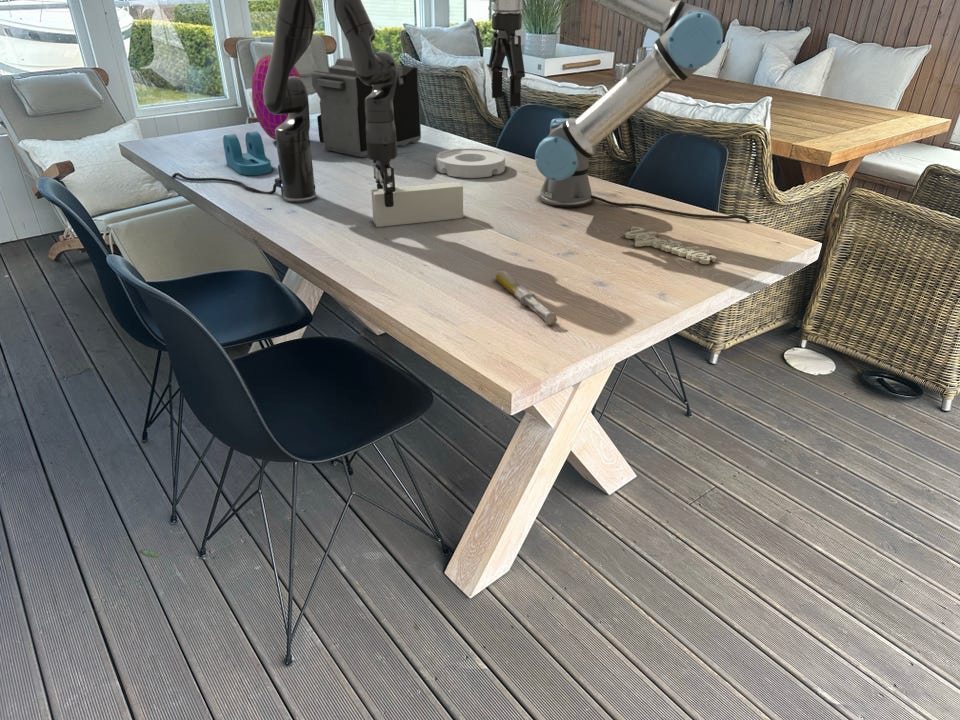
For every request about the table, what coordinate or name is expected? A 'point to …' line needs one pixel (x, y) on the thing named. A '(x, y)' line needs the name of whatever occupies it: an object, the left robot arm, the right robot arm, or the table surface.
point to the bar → (419, 204)
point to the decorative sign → (669, 245)
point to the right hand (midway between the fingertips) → (505, 101)
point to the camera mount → (246, 154)
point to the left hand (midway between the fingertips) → (385, 201)
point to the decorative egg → (263, 115)
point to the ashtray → (470, 162)
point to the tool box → (362, 108)
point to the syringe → (525, 297)
